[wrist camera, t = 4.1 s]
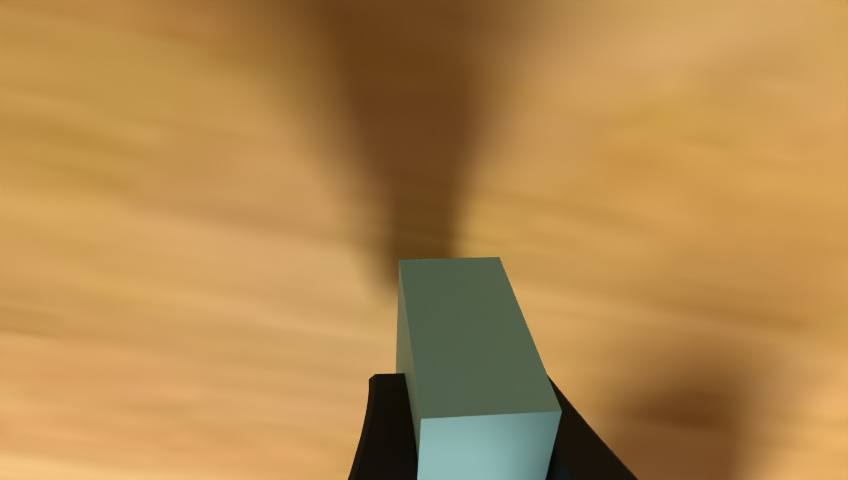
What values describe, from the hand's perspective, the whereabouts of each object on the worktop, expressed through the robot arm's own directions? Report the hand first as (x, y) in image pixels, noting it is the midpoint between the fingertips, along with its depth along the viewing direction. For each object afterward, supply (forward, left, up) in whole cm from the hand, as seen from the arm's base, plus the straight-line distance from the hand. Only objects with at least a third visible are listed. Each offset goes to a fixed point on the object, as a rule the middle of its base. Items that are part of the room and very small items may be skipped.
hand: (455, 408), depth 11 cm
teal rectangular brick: (0, 0, -2) cm, 2 cm away
